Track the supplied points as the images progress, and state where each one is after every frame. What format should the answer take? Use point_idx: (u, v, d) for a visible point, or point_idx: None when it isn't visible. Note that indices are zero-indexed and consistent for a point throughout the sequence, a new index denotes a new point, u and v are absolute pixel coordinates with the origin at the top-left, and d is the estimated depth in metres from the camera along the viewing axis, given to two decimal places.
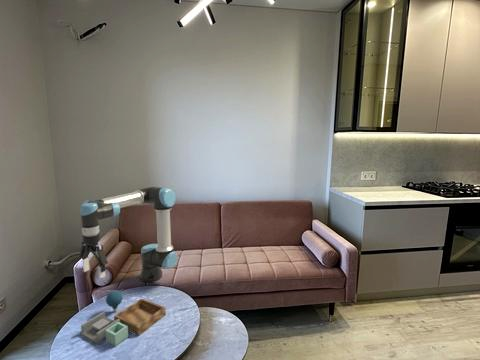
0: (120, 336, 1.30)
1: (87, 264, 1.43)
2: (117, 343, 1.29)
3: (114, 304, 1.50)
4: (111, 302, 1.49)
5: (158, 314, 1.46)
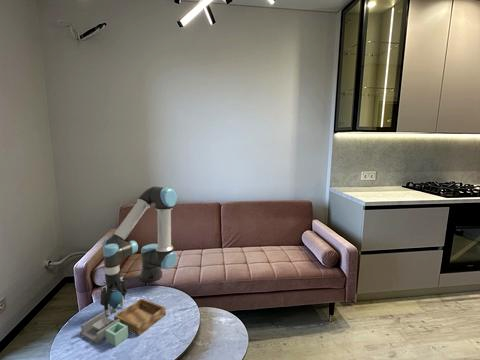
0: (120, 336, 1.30)
1: None
2: (117, 343, 1.29)
3: (114, 304, 1.50)
4: (111, 302, 1.49)
5: (158, 314, 1.46)
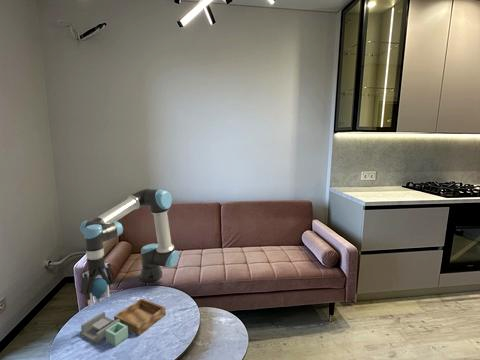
0: (120, 336, 1.30)
1: (106, 290, 1.39)
2: (117, 343, 1.29)
3: (97, 293, 1.32)
4: (93, 291, 1.31)
5: (158, 314, 1.46)
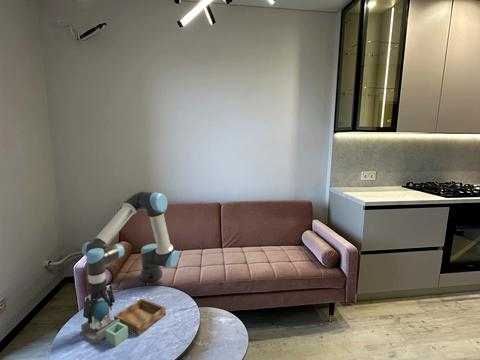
0: (120, 336, 1.30)
1: (108, 312, 1.41)
2: (117, 343, 1.29)
3: (99, 316, 1.34)
4: (95, 314, 1.33)
5: (158, 314, 1.46)
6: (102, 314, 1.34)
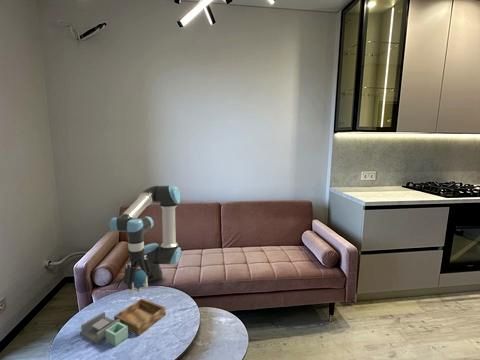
0: (120, 336, 1.30)
1: None
2: (117, 343, 1.29)
3: (138, 283, 1.41)
4: (135, 281, 1.40)
5: (158, 314, 1.46)
6: (141, 281, 1.41)
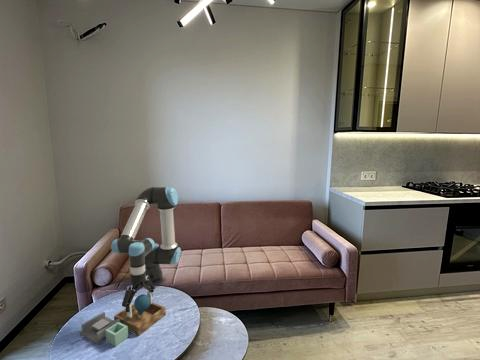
0: (120, 336, 1.30)
1: (149, 297, 1.52)
2: (117, 343, 1.29)
3: (142, 306, 1.45)
4: (140, 303, 1.45)
5: (158, 314, 1.46)
6: (145, 305, 1.46)
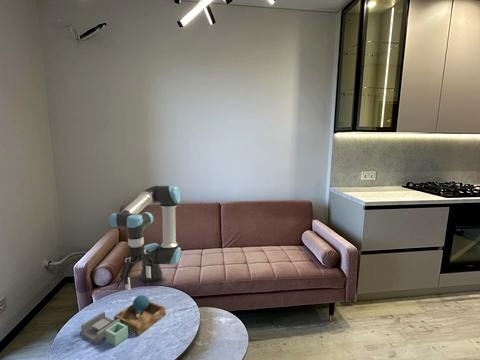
0: (120, 336, 1.30)
1: (148, 272, 1.50)
2: (117, 343, 1.29)
3: (139, 302, 1.49)
4: (137, 299, 1.50)
5: (158, 314, 1.46)
6: (142, 301, 1.50)
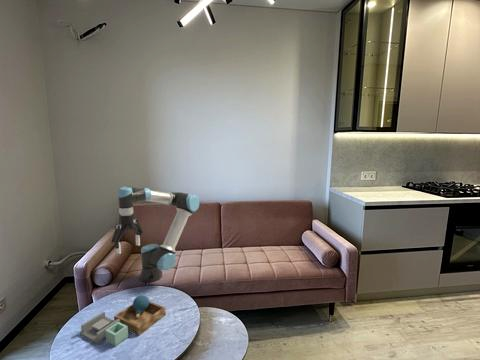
0: (120, 336, 1.30)
1: (137, 240, 1.67)
2: (117, 343, 1.29)
3: (139, 302, 1.49)
4: (137, 299, 1.50)
5: (158, 314, 1.46)
6: (142, 301, 1.50)
